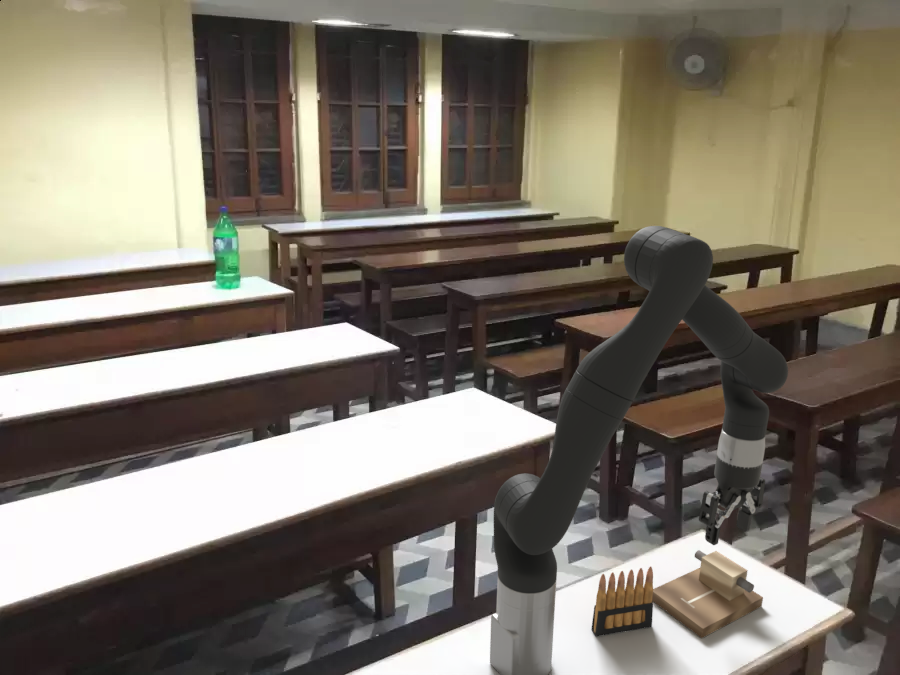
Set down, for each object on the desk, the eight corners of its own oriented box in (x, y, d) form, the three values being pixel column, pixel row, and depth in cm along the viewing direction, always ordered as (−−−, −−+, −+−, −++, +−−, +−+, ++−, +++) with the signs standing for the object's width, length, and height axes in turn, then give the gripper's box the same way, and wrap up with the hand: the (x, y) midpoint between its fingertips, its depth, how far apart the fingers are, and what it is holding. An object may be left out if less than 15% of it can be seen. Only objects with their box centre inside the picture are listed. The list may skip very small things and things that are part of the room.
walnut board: (701, 638, 126) (703, 628, 126) (650, 599, 136) (651, 590, 135) (761, 606, 134) (763, 597, 134) (708, 571, 144) (709, 563, 143)
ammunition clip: (595, 636, 127) (600, 578, 123) (591, 629, 128) (595, 571, 124) (652, 626, 129) (658, 569, 125) (646, 619, 131) (653, 562, 127)
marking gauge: (741, 608, 130) (744, 585, 129) (688, 572, 140) (691, 550, 139) (755, 601, 132) (759, 577, 131) (702, 566, 142) (705, 544, 141)
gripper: (730, 474, 121) (717, 558, 126) (784, 454, 129) (770, 535, 134) (694, 456, 127) (683, 536, 133) (748, 438, 135) (735, 515, 140)
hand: (727, 535), depth 133 cm, fingers open, 8 cm apart
